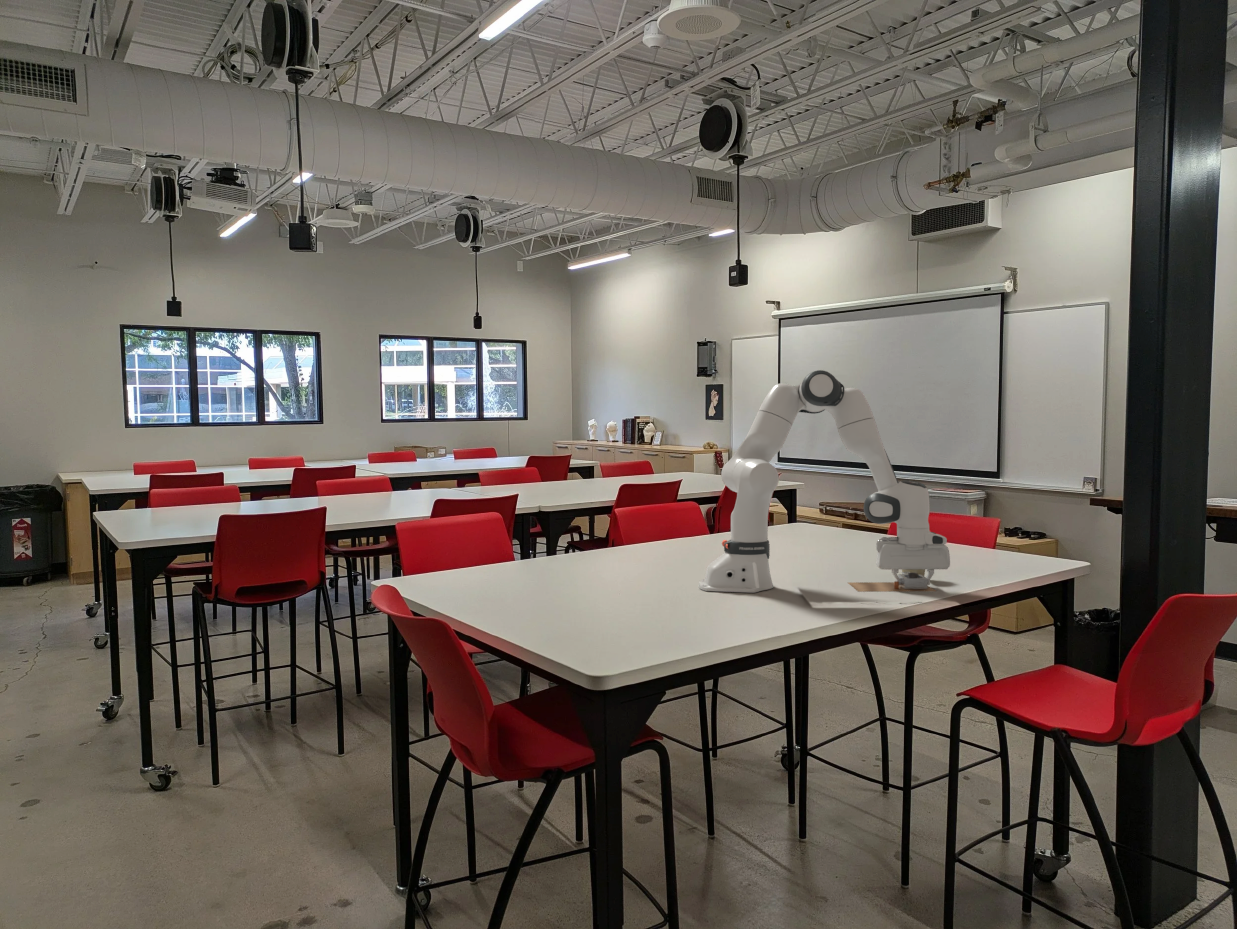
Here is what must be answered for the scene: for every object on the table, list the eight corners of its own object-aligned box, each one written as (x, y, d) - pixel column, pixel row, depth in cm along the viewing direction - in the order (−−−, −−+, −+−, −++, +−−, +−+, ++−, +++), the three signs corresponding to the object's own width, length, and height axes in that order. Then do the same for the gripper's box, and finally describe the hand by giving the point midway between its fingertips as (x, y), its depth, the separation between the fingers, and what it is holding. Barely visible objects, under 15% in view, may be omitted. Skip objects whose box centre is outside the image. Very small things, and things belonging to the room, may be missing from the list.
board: (858, 596, 230) (858, 577, 230) (847, 587, 243) (847, 568, 243) (936, 596, 229) (937, 576, 229) (922, 587, 242) (922, 568, 242)
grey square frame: (927, 589, 231) (927, 578, 231) (904, 588, 232) (904, 578, 232) (916, 581, 242) (916, 571, 242) (894, 581, 242) (894, 571, 242)
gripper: (879, 538, 231) (879, 586, 232) (952, 538, 230) (952, 586, 231) (873, 535, 238) (873, 582, 238) (944, 535, 237) (944, 582, 237)
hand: (912, 584), depth 235 cm, fingers closed on grey square frame, 6 cm apart
